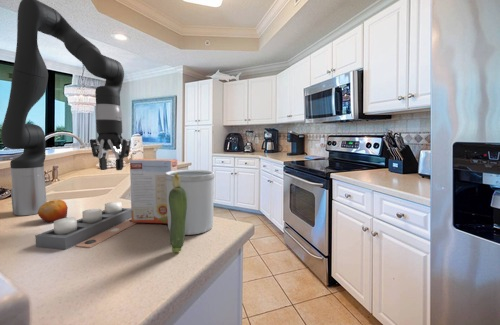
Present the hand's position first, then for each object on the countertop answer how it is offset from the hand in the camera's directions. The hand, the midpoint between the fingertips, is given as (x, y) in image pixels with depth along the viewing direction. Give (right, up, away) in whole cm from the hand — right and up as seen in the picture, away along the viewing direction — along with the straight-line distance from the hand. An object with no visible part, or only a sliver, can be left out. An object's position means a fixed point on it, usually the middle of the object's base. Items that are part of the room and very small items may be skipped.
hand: (111, 169), depth 83 cm
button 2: (0, -15, +1) cm, 15 cm away
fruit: (-20, -18, +1) cm, 27 cm away
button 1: (-3, -16, -16) cm, 23 cm away
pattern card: (+6, -18, -9) cm, 21 cm away
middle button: (-2, -16, -7) cm, 17 cm away
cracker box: (+15, -17, 0) cm, 23 cm away
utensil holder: (+28, -18, -5) cm, 34 cm away
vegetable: (+29, -20, -22) cm, 42 cm away
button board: (-2, -18, -7) cm, 20 cm away
